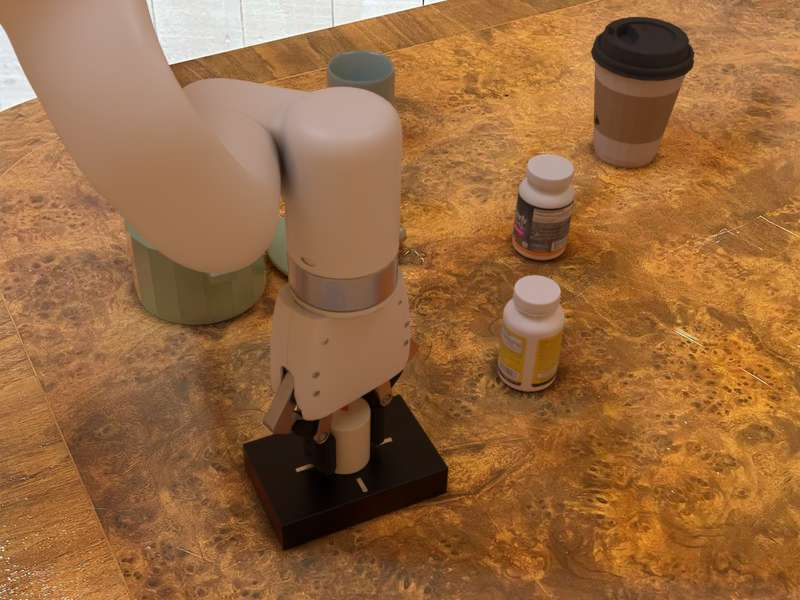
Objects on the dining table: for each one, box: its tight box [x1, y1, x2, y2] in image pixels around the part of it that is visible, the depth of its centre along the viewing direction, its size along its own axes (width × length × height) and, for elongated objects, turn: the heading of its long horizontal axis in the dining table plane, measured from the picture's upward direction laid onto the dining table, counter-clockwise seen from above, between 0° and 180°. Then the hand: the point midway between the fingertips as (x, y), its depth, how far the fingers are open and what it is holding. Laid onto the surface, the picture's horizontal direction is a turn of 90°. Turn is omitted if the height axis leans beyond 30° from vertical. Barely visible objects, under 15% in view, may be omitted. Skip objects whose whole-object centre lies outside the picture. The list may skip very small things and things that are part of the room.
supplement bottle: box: [496, 274, 566, 392], centre depth 94 cm, size 5×5×10 cm
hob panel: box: [241, 393, 449, 551], centre depth 86 cm, size 14×9×3 cm, turn 115°
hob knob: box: [330, 397, 370, 474], centre depth 83 cm, size 4×4×5 cm
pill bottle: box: [511, 153, 576, 261], centre depth 109 cm, size 6×6×10 cm
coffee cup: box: [590, 16, 695, 169], centre depth 122 cm, size 11×11×15 cm
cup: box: [325, 50, 396, 108], centre depth 123 cm, size 8×8×10 cm
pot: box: [123, 218, 267, 326], centre depth 103 cm, size 13×18×8 cm
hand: (344, 447), depth 84 cm, fingers closed on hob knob, 4 cm apart
